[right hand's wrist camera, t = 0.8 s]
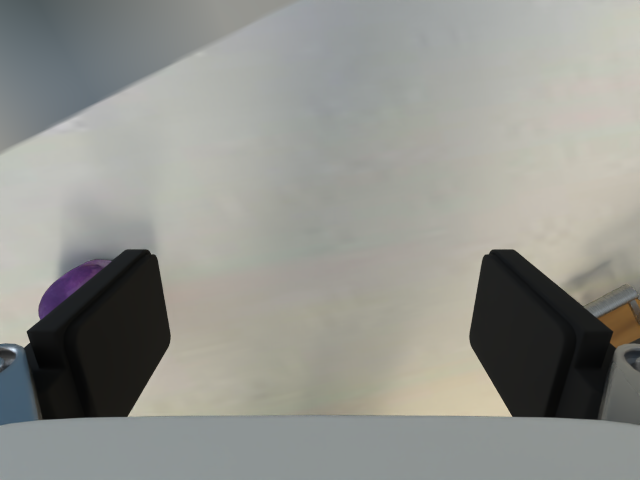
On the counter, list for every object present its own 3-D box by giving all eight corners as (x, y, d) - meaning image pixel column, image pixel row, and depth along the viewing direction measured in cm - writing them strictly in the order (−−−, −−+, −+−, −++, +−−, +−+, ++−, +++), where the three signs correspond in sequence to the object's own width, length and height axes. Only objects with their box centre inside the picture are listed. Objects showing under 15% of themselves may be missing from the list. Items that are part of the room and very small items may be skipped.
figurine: (174, 282, 44) (106, 372, 30) (125, 336, 47) (43, 441, 33) (102, 230, 42) (-7, 300, 28) (56, 290, 44) (-65, 382, 30)
